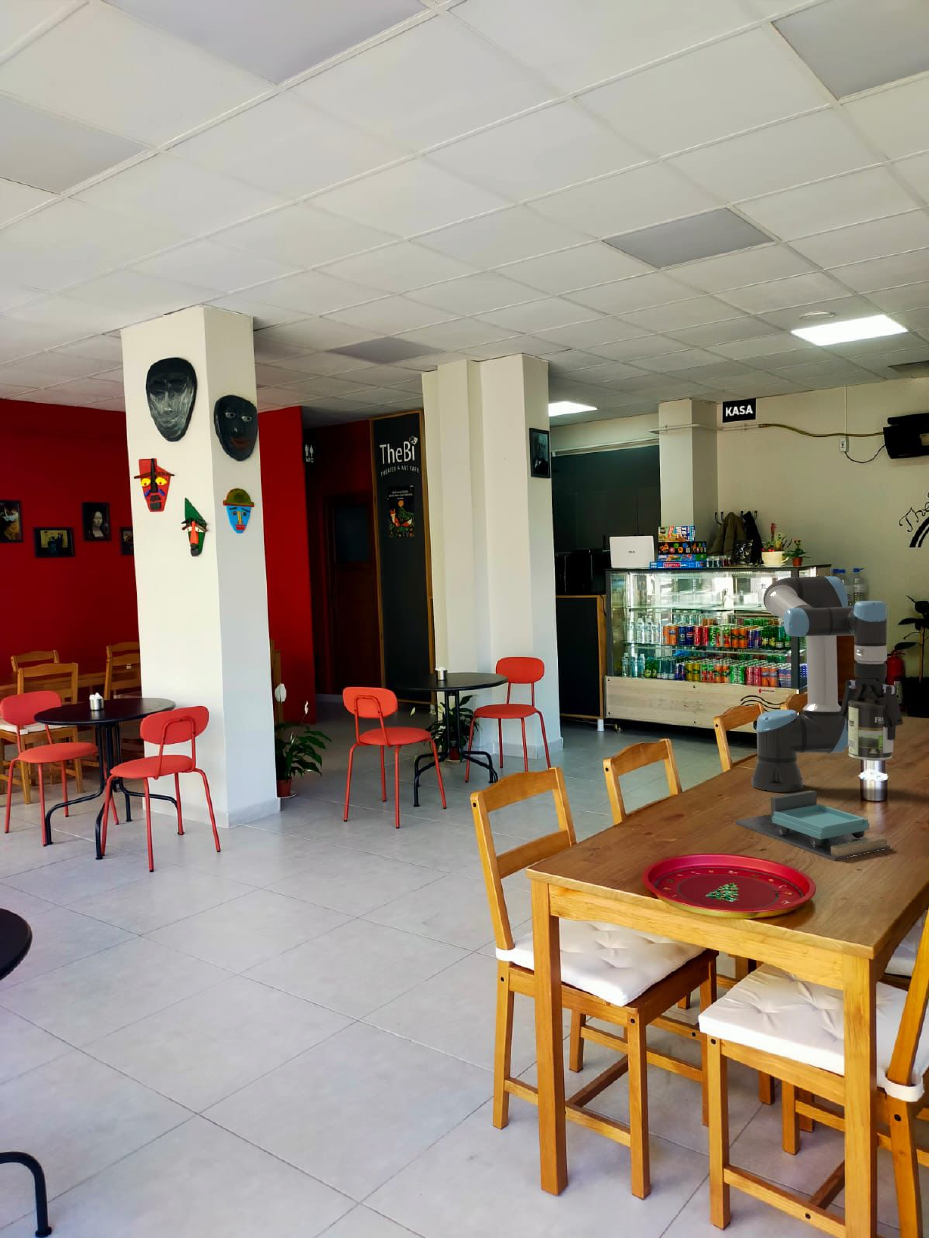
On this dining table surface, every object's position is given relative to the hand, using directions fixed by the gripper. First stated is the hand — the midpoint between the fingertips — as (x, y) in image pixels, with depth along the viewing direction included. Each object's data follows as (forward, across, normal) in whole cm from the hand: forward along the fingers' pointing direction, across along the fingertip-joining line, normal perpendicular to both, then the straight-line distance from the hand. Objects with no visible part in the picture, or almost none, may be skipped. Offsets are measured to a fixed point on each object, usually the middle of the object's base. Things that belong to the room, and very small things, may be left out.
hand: (870, 748), depth 227 cm
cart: (+21, -2, -16) cm, 26 cm away
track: (+22, -5, -16) cm, 27 cm away
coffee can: (+2, 0, 0) cm, 2 cm away
